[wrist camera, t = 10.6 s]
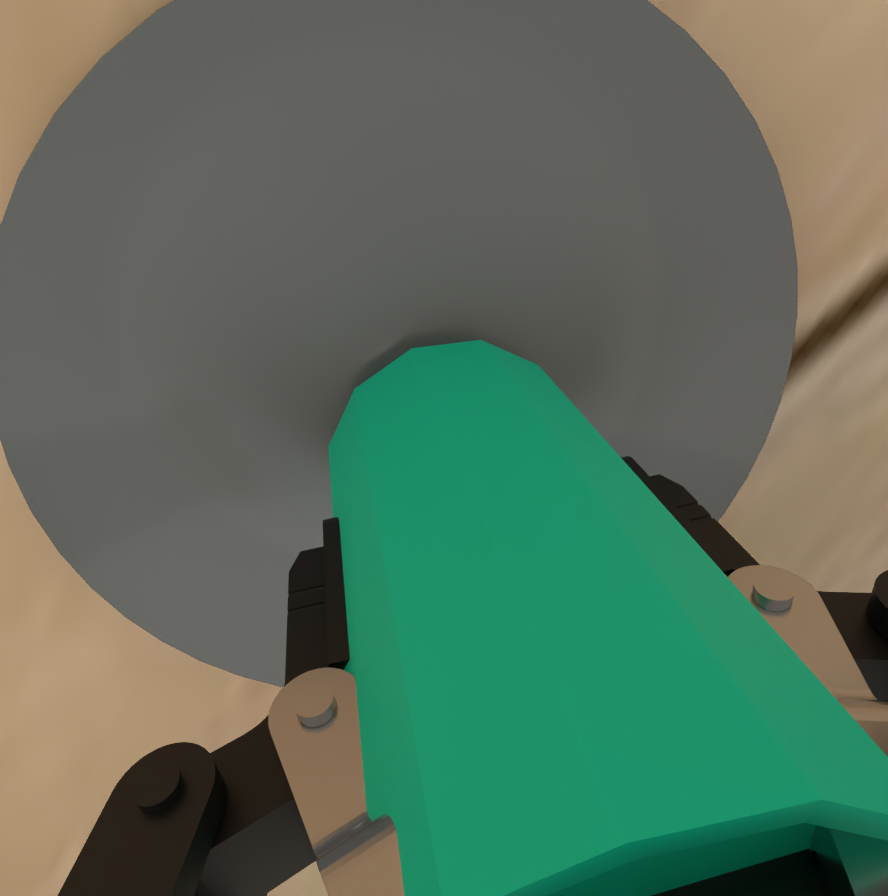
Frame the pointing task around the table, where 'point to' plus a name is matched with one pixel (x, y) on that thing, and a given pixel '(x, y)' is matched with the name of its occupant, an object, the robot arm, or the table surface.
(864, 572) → the table surface
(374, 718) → the candle
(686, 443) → the candle tray
